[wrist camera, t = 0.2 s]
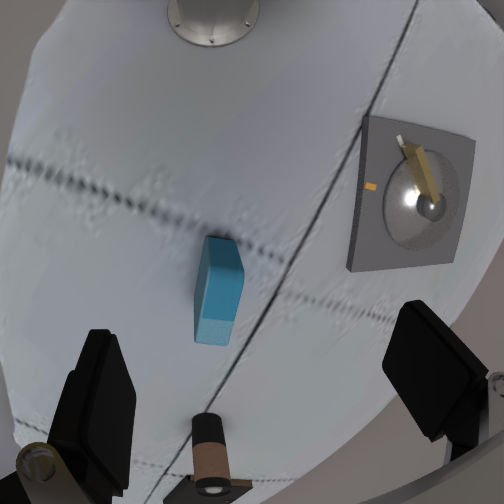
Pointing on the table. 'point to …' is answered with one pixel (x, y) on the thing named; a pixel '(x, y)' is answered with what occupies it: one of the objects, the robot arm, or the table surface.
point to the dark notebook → (187, 500)
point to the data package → (217, 291)
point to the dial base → (374, 185)
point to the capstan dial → (421, 198)
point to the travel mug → (210, 456)
